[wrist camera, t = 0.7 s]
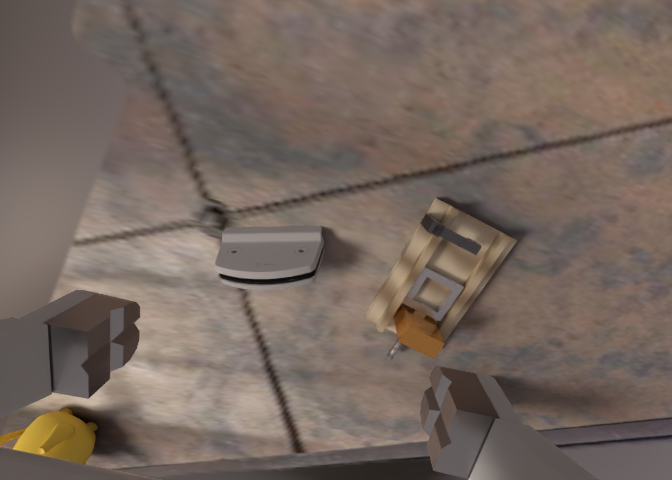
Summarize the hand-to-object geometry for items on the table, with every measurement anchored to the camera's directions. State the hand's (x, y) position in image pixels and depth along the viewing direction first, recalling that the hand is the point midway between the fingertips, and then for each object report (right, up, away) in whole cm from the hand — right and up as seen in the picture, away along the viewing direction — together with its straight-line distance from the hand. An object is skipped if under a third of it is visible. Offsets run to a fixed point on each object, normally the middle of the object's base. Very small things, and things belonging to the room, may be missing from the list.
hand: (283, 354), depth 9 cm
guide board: (+18, -3, +44) cm, 48 cm away
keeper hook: (+18, +5, +40) cm, 44 cm away
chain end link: (+15, -10, +45) cm, 48 cm away
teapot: (-53, -35, +59) cm, 87 cm away
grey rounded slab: (-9, +2, +45) cm, 46 cm away
